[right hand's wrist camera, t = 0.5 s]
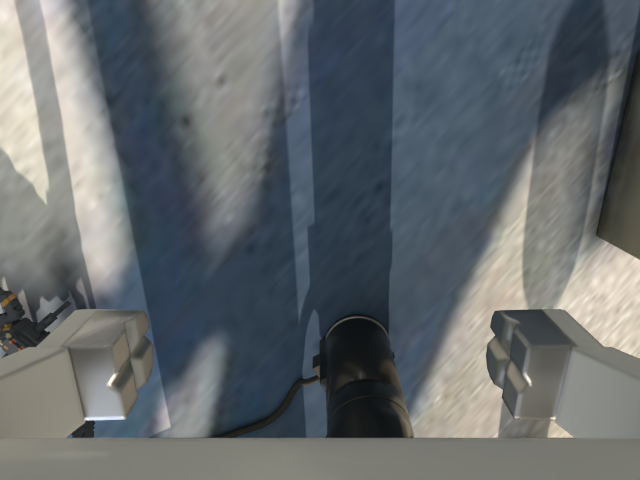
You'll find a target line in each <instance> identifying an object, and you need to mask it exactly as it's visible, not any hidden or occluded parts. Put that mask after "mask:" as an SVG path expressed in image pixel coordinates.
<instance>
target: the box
mask: <svg viewBox="0 0 640 480" xmlns="http://www.w3.org/2000/svg"><path fill="white" fill-rule="evenodd" d="M597 236H598V237H599V238H601V239H603V240H605V241H607V242H609V243H610V244H612V245H614V246H616V247H618V248H619V249H621V250H623V251H625V252H627V253H629V254H630V255H632V256H634V257H636V258H638V259H639V260H640V52H638V53H637V57H636V61H635V66H634V70H633V75H632V79H631V84H630V88H629V93H628V97H627V102H626V106H625V111H624V115H623V119H622V124H621V128H620V133H619V137H618V142H617V146H616V151H615V155H614V160H613V164H612V169H611V173H610V178H609V182H608V186H607V191H606V195H605V200H604V204H603V209H602V213H601V218H600V222H599V227H598V231H597Z"/></svg>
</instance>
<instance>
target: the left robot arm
mask: <svg viewBox="0 0 640 480" xmlns="http://www.w3.org/2000/svg"><path fill="white" fill-rule="evenodd" d="M394 357H395V356H394V352H393V353H392V351H391V347H390V342H389V337H388V334H387V331H386V329H385V328H384V326H383V325H382V324H381V323H380V322H379V321H377V320H376V319H374V318H372V317H369V316H365V315H350V316H346V317H343V318H341V319H339V320H338V321H336V322H335V323H334V324H333V325H332V326H331V327H330V328H329V330H328V332H327V334H326V337H325V338H323V339H321V340H320V354H318V355H316V356H314V357H313V370H314V371H315V373H316V374H317V375H316V376H314V377H311V378H308V379H299V380H298V381H297V382H296V383H295V384H294V385H293V386H292V388H291V389H290V391H289V393H288V394H287V396H286V398H285V400H284V401H283V403H282V405H281V406H280V407H279V409H278V410H277V411H276V412H275V413H274V414H272V415H271V416H270V417H268V418H266V419H265V420H263V421H260V422H258V423H256V424H253V425H250V426H247V427H243V428H240V429H237V430H235V431H232V432H229V433H227V434H224V435H221V436H218V437H215V438H233V437H236V436H239V435H242V434H245V433H248V432H251V431H254V430H257V429H260V428H262V427H264V426H266V425H268V424H270V423H272V422H273V421H275V420H276V419H277V418H278V417H279V416H280V415H281V414H282V413H283V412H284V411H285V409H286V408H287V406H288V405H289V403H290V401H291V399H292V398H293V396H294V394H295V393H296V391H297V390H298V388H299V387H300V386H302V385H303V386H308V385H311V384H314V383H316V382H318V381H320V384H321V386H322V387H323V389H324V390H325V391H326V404H327V436H326V438H414V433H413V430H412V426H411V422H410V418H409V415H408V411H407V407H406V404H405V400H404V396H403V392H402V388H401V385H400V381H399V377H398V373H397V370H396V366H395V362H394Z"/></svg>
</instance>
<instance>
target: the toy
mask: <svg viewBox="0 0 640 480" xmlns="http://www.w3.org/2000/svg"><path fill="white" fill-rule="evenodd" d="M16 297H17V296H16V295H14V294H13V293H12V292H11V291H10V290H9V291H4V290H3V289H2V288H0V303H1V305H2V306H3V307H4V309H5V310H6V312H5V313H2V314H0V346H1V347H2V349H3V350H4V351H5V352H6V354H5V355H4V356H3V357H6V356H8V355H11V354H13V353H16V352H18V351H20V350H23V349H25V348H28V347H36V346H37V345H39V344H40V343H41V342H42V341H43V340H44V339H45V338H46V337H47V336H48V335H49V334H50V332H46V331H45V330H44V329H46V328H47V327H48V326H49V325H50V324H51V323H53V322H54V321H55V320H56V319H57V317H56V316H57V315H58V314H60V313H61V312H62V311H63V310H64V309H65V308H66V307H68V306H69V305H70V303H69V302H68V301H67V302H66V303H65V304H63V305H62V306H61V307H60V308H59V309H58V310H56V311H55V312H54V313H49V314H48V315H47V316H46V317H45V318H44V319H42V320H41V321H40V322H39V323H38V324H37V323H33V322H31V321H30V320H29V319H28V318H23V319H22V320H18V319H20V318H21V317H22V316H23V315H24V314H25V312H24V311H25V310H23V309H22V307H23V306H22V305H21V304H20V303H19V301H18V300H17V298H16ZM3 357H2V358H3ZM94 424H95V422H94V420H85V423H84V424H83V425H81V426H80V427H79V428H77V429H76V430H75V431H73V432H72V436H73V437H72V438H93V437H94V431H93V429H94V428H95V427H94Z"/></svg>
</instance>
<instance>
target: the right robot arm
mask: <svg viewBox="0 0 640 480" xmlns="http://www.w3.org/2000/svg"><path fill="white" fill-rule="evenodd" d="M149 328H150V326H149V321H148V316H147V314H146V313H145V311H144V310H103V309H102V310H100V309H81V310H75V311H74V312H73V313H72V314H71V315H70V316H69V317H68V318H66V319H65V320H64V321H63V322H62V323H61V324H60V325H59V326H58V327H57V328H56V329H55V330H54V331H52V332H51V333H50V334H49V335H48V336H47V337H46V338H45V339H44V340H43V341H42V342H41V343H40V344H39V345H37V346H36V347H28V348H25V349H23V350H20V351H18V352H16V353H13V354H11V355H8V356H6V357H3V358H1V359H0V480H640V359H639V358H637V357H634V356H632V355H629V354H627V353H624V352H622V351H620V350H617V349H615V348H612V347H604V346H603V345H602V344H600V343H599V342H598V341H597V340H596V339H595V338H594V337H593V336H592V335H591V334H590V333H589V332H588V331H587V330H585V329H584V328H583V327H582V326H581V325H580V324H579V323H578V322H577V321H576V320H575V319H574V318H573V317H572V316H570V315H569V314H568V313H567V312H566V311H565V310H561V309H546V310H542V309H540V310H500V311H495V312H494V314H493V316H492V320H491V326H490V328H491V329H492V331H493V332H494V334H495V336H494V338H493V339H492V340H491V341H490V342H489V343H488V345H487V353H486V360H487V369H488V372H489V375H490V377H491V379H492V381H493V383H494V384H495V385H497V386H498V387H500V388H501V389H503V394H502V399H503V400H504V402H505V404H506V406H507V407H508V409H509V411H510V412H511V414H512V416H513V418H514V419H522V420H555V423H556V424H558V425H559V426H560V427H562V428H563V429H564V430H566V431H567V432H568V433H570V434H571V435H572V436H574V437H575V438H65V437H67V436H68V435H69V434H71V433H72V432H73V431H75V430H76V429H77V428H79V427H80V426H81V425H83V424H84V423H85V420H117V419H126V418H127V416H128V414H129V413H130V411H131V409H132V407H133V406H134V404H135V402H136V400H137V399H138V394H137V389H139V388H140V387H142V386H143V385H145V384H146V383H147V381H148V379H149V377H150V375H151V372H152V367H153V363H154V352H153V345H152V343H151V342H150V341H149V340H148V339H147V338H146V336H145V334H146V332H147V331H148V329H149Z"/></svg>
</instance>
